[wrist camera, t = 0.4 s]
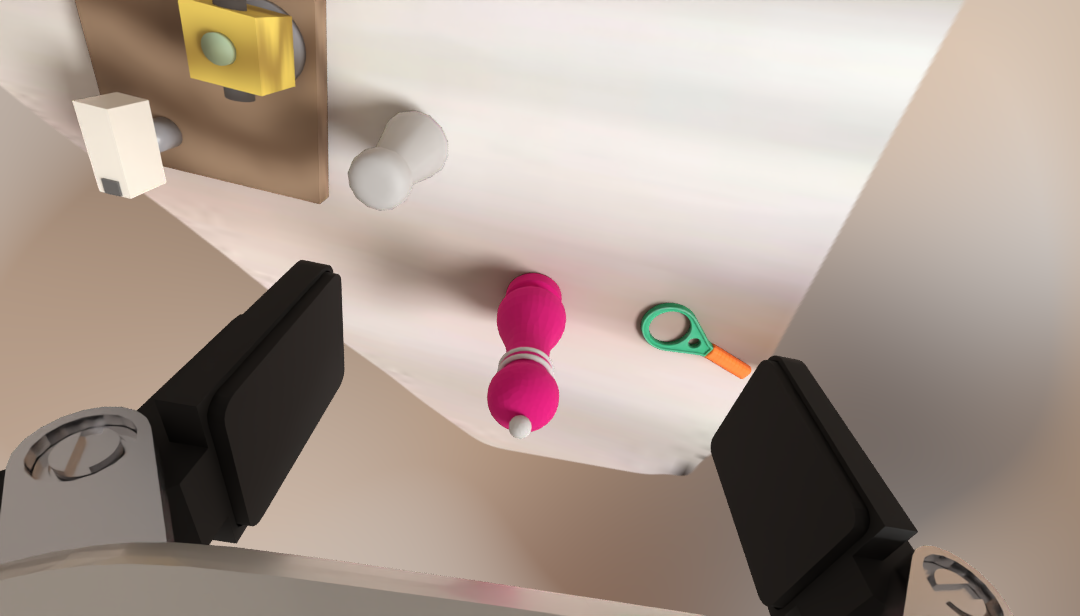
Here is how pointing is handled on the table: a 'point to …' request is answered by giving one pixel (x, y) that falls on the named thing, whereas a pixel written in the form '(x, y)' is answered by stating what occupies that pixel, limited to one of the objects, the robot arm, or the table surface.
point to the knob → (125, 142)
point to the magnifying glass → (695, 331)
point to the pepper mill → (527, 355)
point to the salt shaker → (398, 160)
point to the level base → (202, 106)
